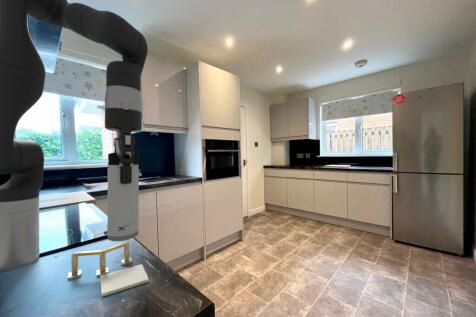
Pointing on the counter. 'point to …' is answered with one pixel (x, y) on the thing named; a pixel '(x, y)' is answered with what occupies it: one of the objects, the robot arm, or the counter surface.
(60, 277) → the counter surface
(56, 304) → the counter surface
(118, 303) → the counter surface
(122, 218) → the travel mug
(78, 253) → the gold barrier railing
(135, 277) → the coaster
